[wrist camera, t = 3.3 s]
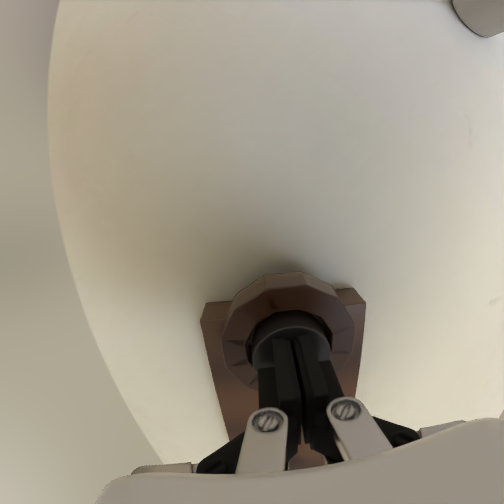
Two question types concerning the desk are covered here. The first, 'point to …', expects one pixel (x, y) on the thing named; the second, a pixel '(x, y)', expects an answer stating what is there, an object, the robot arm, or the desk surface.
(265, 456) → the robot arm
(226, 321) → the switch box
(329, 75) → the desk surface
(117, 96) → the desk surface
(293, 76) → the desk surface
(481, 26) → the beverage can
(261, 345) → the button
